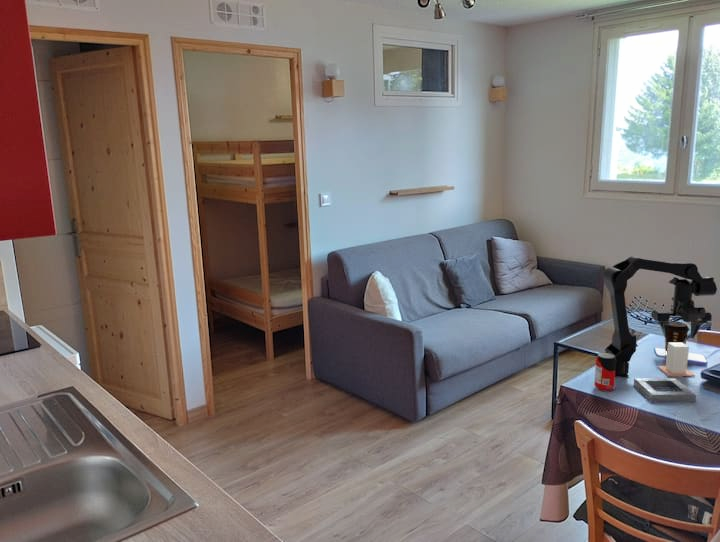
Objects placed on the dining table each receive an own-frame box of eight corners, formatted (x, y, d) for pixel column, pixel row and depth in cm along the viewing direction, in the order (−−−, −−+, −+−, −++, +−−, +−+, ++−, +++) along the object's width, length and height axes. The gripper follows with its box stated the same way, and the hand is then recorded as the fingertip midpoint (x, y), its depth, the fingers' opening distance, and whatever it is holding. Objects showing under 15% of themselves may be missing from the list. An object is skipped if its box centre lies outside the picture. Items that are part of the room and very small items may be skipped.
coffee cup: (681, 351, 229) (684, 320, 226) (690, 359, 221) (694, 326, 218) (658, 351, 230) (661, 320, 227) (667, 358, 222) (670, 326, 219)
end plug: (672, 373, 206) (674, 346, 204) (665, 368, 210) (667, 342, 208) (686, 373, 205) (688, 346, 203) (679, 368, 210) (682, 342, 208)
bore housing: (651, 401, 184) (652, 394, 183) (633, 385, 197) (634, 378, 197) (695, 402, 183) (696, 394, 183) (674, 385, 197) (675, 378, 196)
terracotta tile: (668, 376, 204) (669, 375, 204) (657, 367, 213) (657, 366, 213) (694, 376, 203) (695, 375, 203) (682, 367, 212) (682, 366, 212)
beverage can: (615, 392, 191) (617, 359, 189) (595, 391, 193) (597, 357, 191) (612, 385, 197) (615, 352, 195) (593, 383, 199) (595, 351, 197)
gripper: (666, 302, 195) (662, 345, 198) (722, 301, 194) (718, 345, 197) (652, 294, 206) (648, 335, 209) (705, 294, 205) (701, 335, 208)
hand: (679, 338), depth 205 cm, fingers open, 9 cm apart
